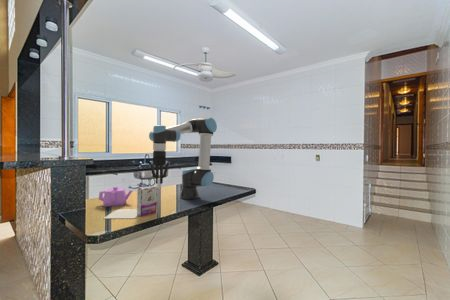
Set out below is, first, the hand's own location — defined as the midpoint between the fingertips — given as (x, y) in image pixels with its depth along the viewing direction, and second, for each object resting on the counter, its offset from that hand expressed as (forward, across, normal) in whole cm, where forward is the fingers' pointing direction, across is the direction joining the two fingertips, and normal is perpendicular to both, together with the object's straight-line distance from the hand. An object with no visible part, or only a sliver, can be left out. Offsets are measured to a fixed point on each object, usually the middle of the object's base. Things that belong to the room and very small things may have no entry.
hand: (159, 188), depth 138 cm
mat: (+16, +21, 0) cm, 26 cm away
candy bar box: (+16, +8, 0) cm, 18 cm away
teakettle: (+16, +38, -24) cm, 48 cm away
